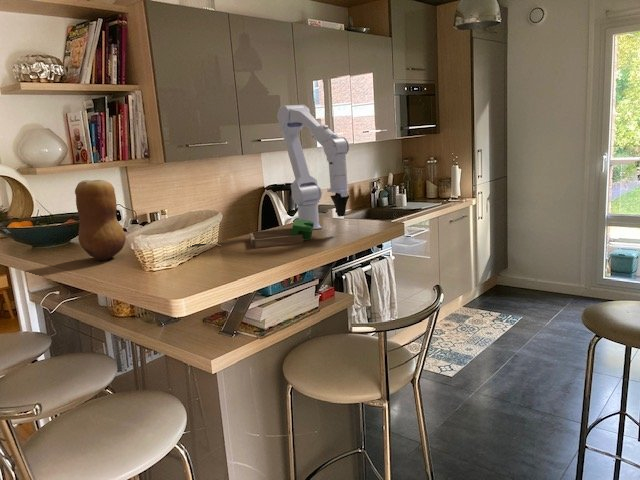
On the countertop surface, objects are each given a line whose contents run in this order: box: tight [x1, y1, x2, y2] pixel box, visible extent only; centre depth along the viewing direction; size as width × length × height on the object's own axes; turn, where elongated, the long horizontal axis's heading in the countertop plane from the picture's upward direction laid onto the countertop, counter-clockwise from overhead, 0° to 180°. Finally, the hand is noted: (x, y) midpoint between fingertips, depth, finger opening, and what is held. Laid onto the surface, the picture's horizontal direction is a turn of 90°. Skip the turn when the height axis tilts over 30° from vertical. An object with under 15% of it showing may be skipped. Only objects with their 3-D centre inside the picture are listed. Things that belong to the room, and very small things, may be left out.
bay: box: [249, 227, 304, 249], centre depth 170 cm, size 14×16×2 cm
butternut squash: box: [74, 179, 126, 261], centre depth 161 cm, size 14×13×25 cm
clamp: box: [291, 218, 314, 241], centre depth 171 cm, size 12×6×9 cm, turn 170°
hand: (341, 216), depth 173 cm, fingers closed
